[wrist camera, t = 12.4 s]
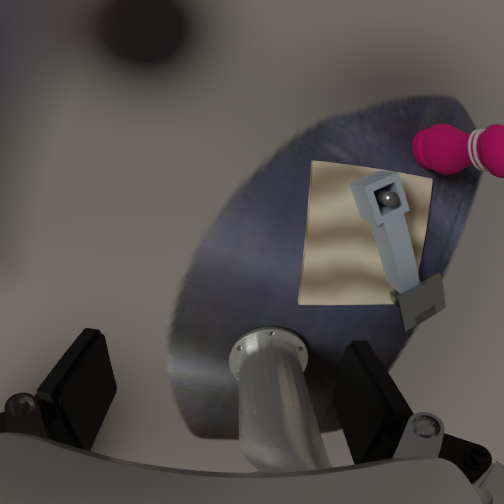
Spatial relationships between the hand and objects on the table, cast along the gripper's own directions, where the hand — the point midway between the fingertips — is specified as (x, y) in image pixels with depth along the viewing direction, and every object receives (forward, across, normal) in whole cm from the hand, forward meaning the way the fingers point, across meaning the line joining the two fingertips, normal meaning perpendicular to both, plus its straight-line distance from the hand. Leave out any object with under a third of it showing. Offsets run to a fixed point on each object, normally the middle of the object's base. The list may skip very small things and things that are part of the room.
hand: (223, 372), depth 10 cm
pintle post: (+30, -18, -5) cm, 36 cm away
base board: (+30, -19, +2) cm, 36 cm away
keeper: (+30, -24, +7) cm, 39 cm away
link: (+29, -20, 0) cm, 36 cm away
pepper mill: (+31, -28, -13) cm, 43 cm away
